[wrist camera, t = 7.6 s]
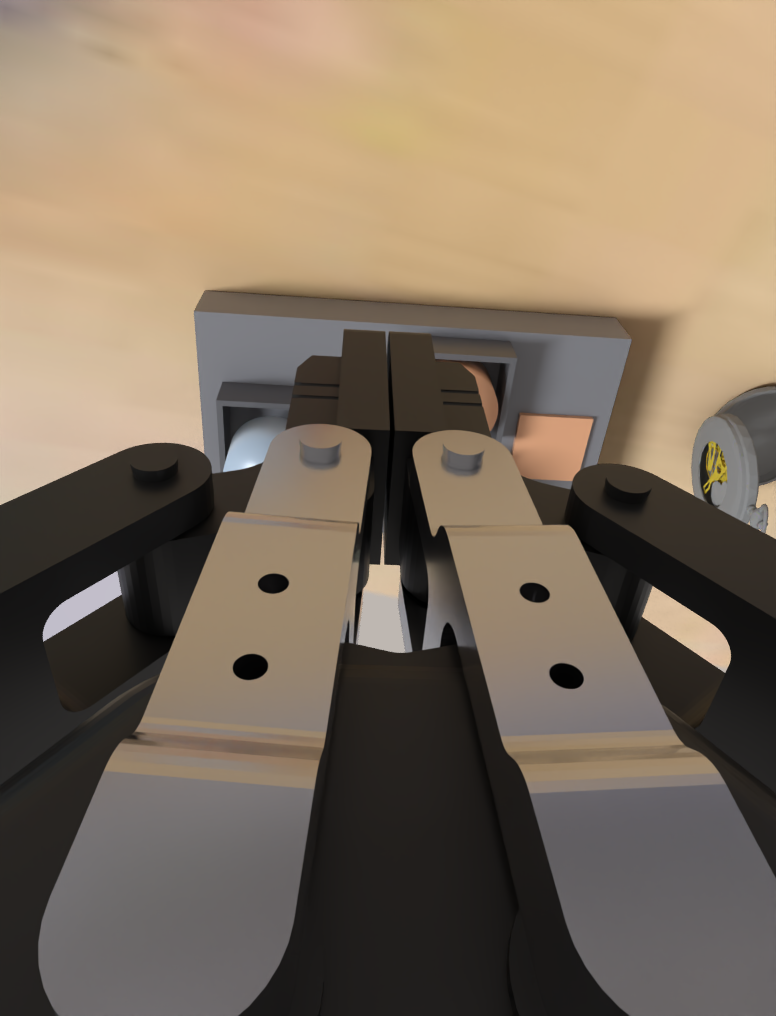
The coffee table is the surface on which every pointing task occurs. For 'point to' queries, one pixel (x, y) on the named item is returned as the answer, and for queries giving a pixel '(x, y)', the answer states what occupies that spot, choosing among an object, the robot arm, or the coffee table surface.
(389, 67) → the coffee table surface
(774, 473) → the pocket watch
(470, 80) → the coffee table surface
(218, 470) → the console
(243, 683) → the robot arm
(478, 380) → the terracotta button
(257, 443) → the slate button
